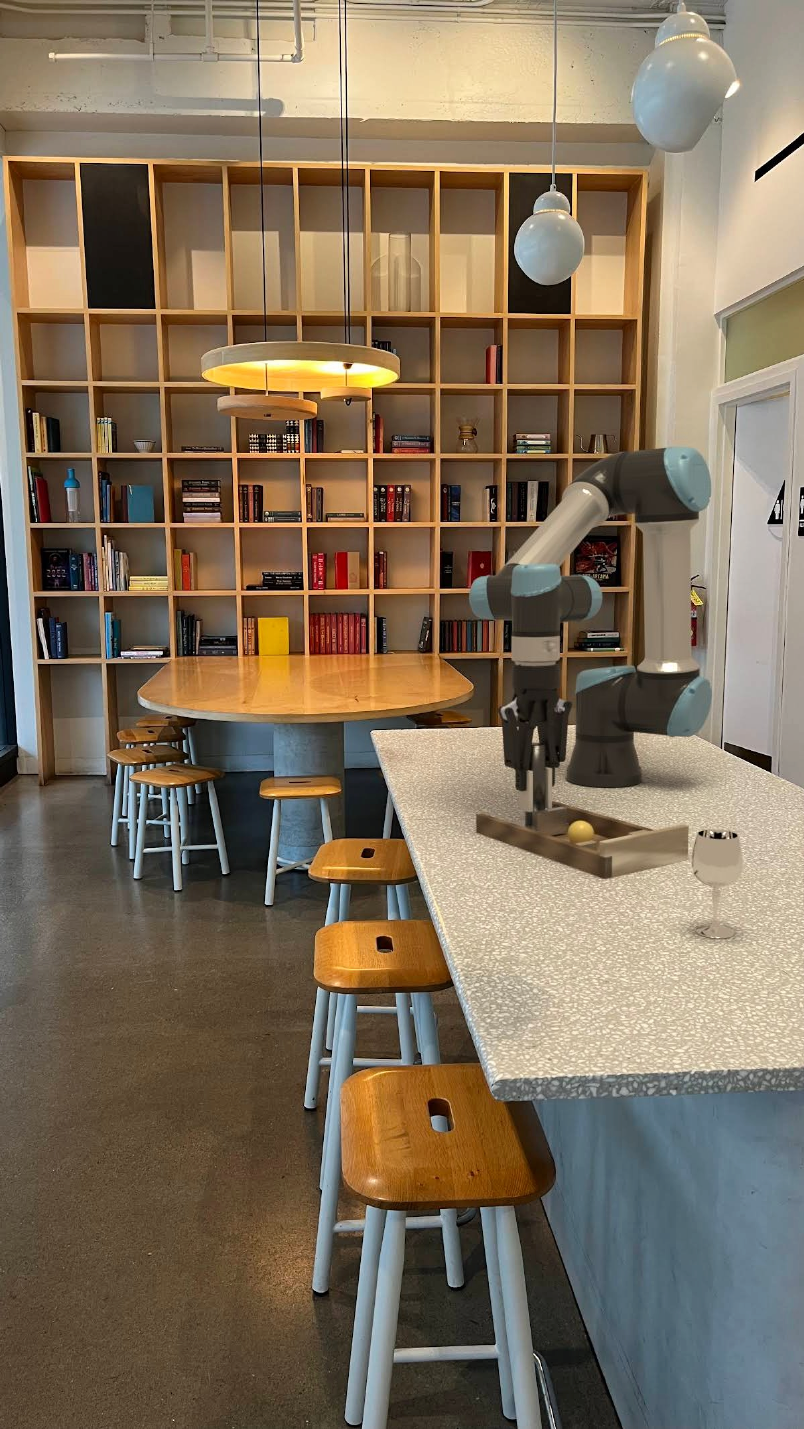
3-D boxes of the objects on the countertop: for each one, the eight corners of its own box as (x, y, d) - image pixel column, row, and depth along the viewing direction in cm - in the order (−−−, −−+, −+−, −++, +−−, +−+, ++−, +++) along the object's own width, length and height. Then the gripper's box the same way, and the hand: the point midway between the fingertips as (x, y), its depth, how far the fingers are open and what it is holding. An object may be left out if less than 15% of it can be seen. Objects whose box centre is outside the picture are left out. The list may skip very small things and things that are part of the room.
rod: (501, 830, 165) (501, 744, 163) (544, 822, 169) (545, 738, 167) (529, 839, 158) (529, 751, 156) (573, 831, 163) (574, 745, 161)
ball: (561, 845, 156) (562, 820, 155) (581, 841, 158) (582, 816, 157) (579, 851, 153) (579, 825, 152) (599, 847, 155) (599, 821, 154)
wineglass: (682, 924, 125) (685, 829, 123) (728, 922, 125) (731, 827, 123) (700, 941, 119) (703, 841, 117) (748, 939, 119) (751, 839, 118)
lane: (476, 839, 165) (476, 802, 164) (552, 825, 173) (553, 789, 172) (605, 887, 139) (605, 843, 139) (687, 867, 148) (688, 826, 147)
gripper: (509, 668, 153) (509, 820, 156) (590, 661, 162) (589, 806, 165) (479, 664, 159) (480, 810, 163) (559, 658, 168) (559, 797, 171)
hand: (535, 808), depth 164 cm, fingers closed on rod, 3 cm apart
